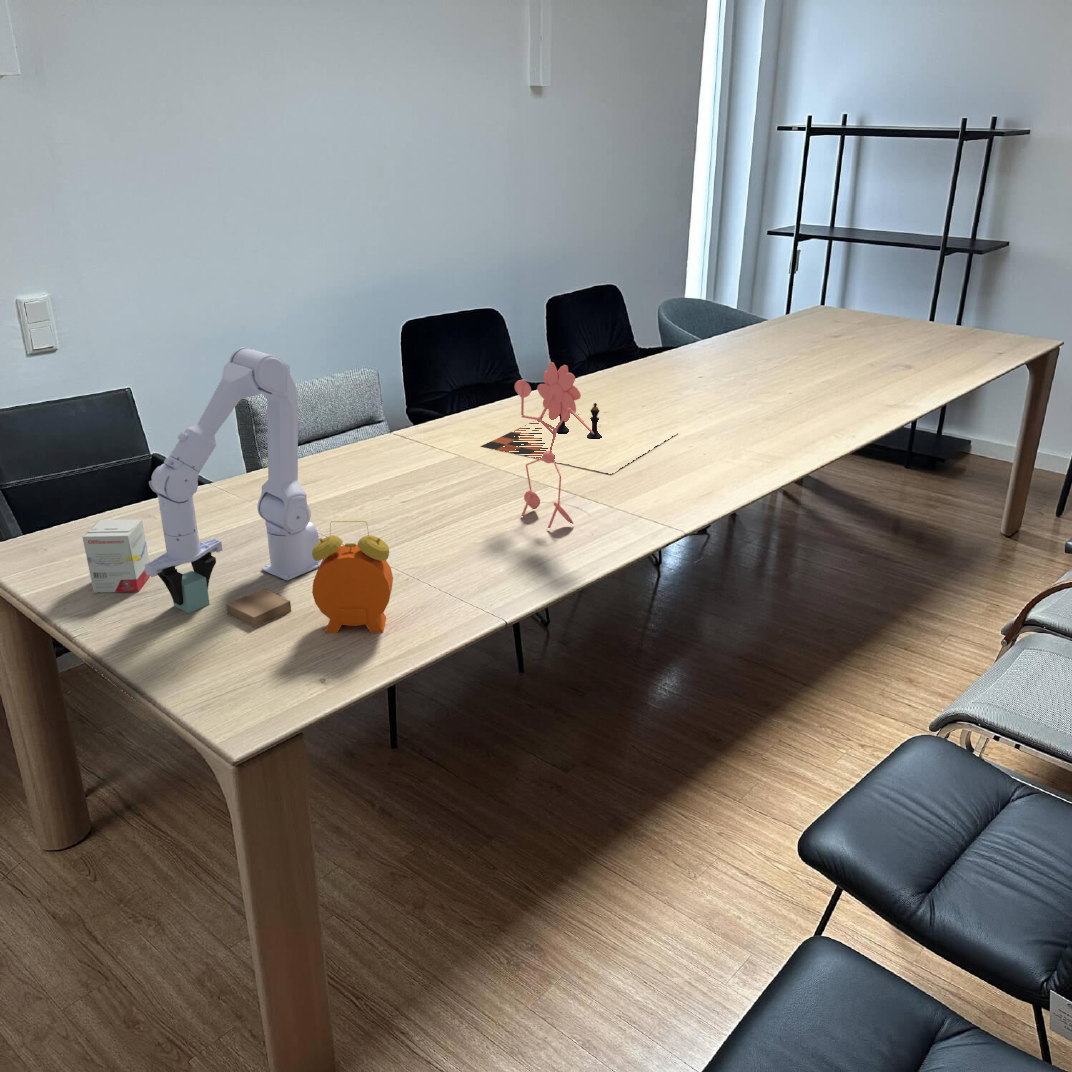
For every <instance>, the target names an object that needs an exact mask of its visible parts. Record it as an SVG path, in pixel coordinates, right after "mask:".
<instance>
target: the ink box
mask: <svg viewBox="0 0 1072 1072" xmlns="http://www.w3.org/2000/svg"><path fill="white" fill-rule="evenodd" d="M82 543H83V545H84V546H83V547H84V551H85V556H86V561H87V565H88V571H89V575H90V580H91V586H92V590H93V593H95V594H97V592H100V593H129V592H131V593H132V592H134V593H135V592H137V593H139V592H140V591H141V590H142V588H143V587H144V585H145V584H146V583H147V581H148V580H149V579H150V577H151V576H148V575H147V574H146V571H145V564H147V563H149V562H150V557H149V552H148V545H147V540H146V534H145V528H144V523H143V519H99V520H98V521H96V522H95V523H94V524H92V526H91V527H90V529H89V530H87V531H86V532H85V533H84V534H83V535H82ZM147 579H148V580H147Z"/></svg>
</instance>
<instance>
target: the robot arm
mask: <svg viewBox="0 0 1072 1072" xmlns="http://www.w3.org/2000/svg"><path fill="white" fill-rule="evenodd" d="M260 395H262V396H263V397H264V398H266V400H267V463H268V464H267V469H268V470H267V474H268V475H267V477H268V479H267V480H266V481H265V482H264V483H263V484H262V485H261V494H260V497H259V499H258V503H257V506H256V507H257V513H258V515H259V516H260V518H261V519H262V520H264V522H265V527H266V534H267V536H266V537H267V543H268V552H269V553H268V554H269V561H270V562H269V564H266V565H264V566H262V567H261V570H262V571H263V572H266V573H268V574H270V575H273V576H274V577H277V578H280V579H282V580H283V581H290V580H292V579H294V578H297V577H299V576H301V575H303V574H306V573H308V572H311V571H313V570H315V569H317V568H319V566H320V564H321V562H322V560H319V561H315V560H314V558H313V556H312V550H313V548H314V547H315V545H316V544H317V543H318V542H319V541H320V540H319V539H320V537H319V536H320V535H319V532H318V529H317V528H316V526H315V525H314V523H312V521H310V520H311V517H312V515H311V513H312V512H311V509H310V506H309V504H308V501H307V500H308V499H307V493H306V491H305V490H304V487H302V485H301V483H300V482H299V466H298V465H299V460H298V459H299V448H298V447H299V446H298V445H299V444H298V443H299V438H298V436H299V435H298V434H299V433H298V431H299V420H298V419H299V418H298V417H299V416H298V415H299V412H298V411H299V406H298V405H299V403H298V400H299V392H298V387H297V385H296V382H295V381H294V379H293V376H292V375H291V367H290V364H288V363H287V362H286V361H284V359H282V358H281V357H279V356H278V355H276V354H269V353H267V352H266V353H265V352H262V351H259V350H256V349H254V348H252V347H249V346H243V347H239V348H237V349H235V351H233V353H232V354H231V356H230V357H229V361H227V363H225V365H224V366H223V371H222V376H221V379H220V382H219V383H218V385H217V387H216V389H215V391H214V393H213V394H212V396H211V399H210V400H209V402H208V404H207V405H206V407H205V409H204V410H203V411H204V412H203V413H202V415H201V417H200V418H199V420H198V422H197V424H195V425H192V426H189V427H186V429H185V430H184V432H180V433H179V434H178V436H177V439H178V441H177V443H176V444H175V446H174V448H173V450H172V451H171V452H170V453H169V456H168V457H165V459H164V461H163V463H162V464H161V465H159V466H157V467H156V468H155V469H154V470H153V472H152V475H151V476H150V477H151V480H149V481H148V485H149V488H150V489H151V490H152V492H154V493H156V495H157V499H158V504H159V505H158V506H159V511H160V512H159V513H160V519H161V520H160V521H161V525H162V533H163V538H164V543H165V544H164V545H165V551H166V552H165V553H163V554H161V555H160V556H159V557H156V558H155V559H154V560H151V561H149V563H147V564H145V571H146V574H147V575H148V576H150V577H151V578H154V577H156V576H158V577H159V578H160V580H161V581H162V582H163V583H164V585H165V587H166V589H167V590H168V592H169V594H170V596H171V598H172V602H173V601H174V603H176V604H178V605H182V604H183V594H182V576H183V574H184V573H181V572H179V571H178V569H177V568H176V567H178V566H181V565H184V564H188V563H191V567H192V571H193V572H196V573H198V574H200V575H202V576H204V577H206V582H207V589H208V590H209V585H210V578H211V575H212V574H213V573H212V572H213V570H214V567H215V566H216V564H217V559H216V557H215V556H213V555H212V554H213V553H215V552H216V553H220V552H222V551H223V544H222V543H223V542H222V541H221V540H219V539H217V538H212V539H208V540H206V541H201V542H200V537H199V532H198V525H197V518H196V517H197V516H196V510H195V504H194V503H195V502H194V497H193V496H194V494H195V493H196V492H197V490H198V488H199V481H198V479H199V477H200V475H199V474H200V472H201V471H202V469H203V467H204V466H205V465H206V463H207V461H208V460H209V458H210V456H211V455H212V453H213V452H214V450H215V449H216V447H217V441H216V434H217V433H218V432H219V430H220V428H221V427H222V426H223V425H224V423H225V422H226V420H227V419H228V418H229V416H230V415H231V413H232V412H233V410H234V409H235V408H236V406H237V405H238V404H239V402H240V401H241V400H243V399H247V398H251V397H255V396H260ZM174 603H173V604H174Z"/></svg>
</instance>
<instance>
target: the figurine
mask: <svg viewBox="0 0 1072 1072" xmlns="http://www.w3.org/2000/svg"><path fill="white" fill-rule="evenodd" d="M557 369H558V368H557V366H556V365H555V363H554V362H552V361H551V362H550V363H549V364H548V367H547V370H545V371H544V372H543V382H544V383H540V384H538V385H537V387H536V389H537V392H538V394H539V396H540V397H541V398H542V399H543V401H542V406H543V410H542V412H541V414H540V415H539V417H538V416H537V417H535V416H529V415H525V414H524V413H525V412H524V408H525V407H524V405H525V401H524V400H525V398H527V397H529V396H530V395H531V393H532V388H531V386H530V384H529V383H528V382H527V381H525V379H524V378H523V379H520V380H517V381H516V382H515V383H514V390H515V392H516V393H517V394H518V396H519V397H520V399H521V407H520V411H521V412H520V415H521V418H523V419H529V420H534V421H536V420H537V421H538V422H541V423H542V424H543V425H544V426H545V427H546V428H547V429H548V430H549V431H550V432H551V433H552V434H553V439H552V443H551V447H550V451H546V452H544V454H543V456H542V458H541V459H535V460H533V461H531V462H528V463H526V464H525V468H526V469H525V470H526V474H527V475H526V476H527V480H528V481H527V482H528V487H529V490H527V491H525V493H524V495H523V500H524V502H525V505H524V508H523V511H522V513H521V515H520V517H521V516H524V517H525V514H526V512H527V509H528V506H529V507H530V508H531V509H532V510H533V509H535V510H536V509H537V508H538V507H540V505H541V502H540V501H541V499H540V497H539V496H538V494H537V493H536V492H534V491H533V490H532V486H531V485H532V484H531V481H530V480H531V479H530V472H529V467H528V466H529V465H532V464H534V463H537V462H540V461H543V462H544V463H546V464H552V463H553V462H554V463H553V464H554V467H555V469H556V472H557V474H558V476H559V478H558V479H559V482H558V498H557V502H558V503H556V501H553V506H554V507H555V508H554V511H553V513H552V516H551V518H550V521H549V524H548V526H547V528H550V529H551V527H552V525H553V522H554V520H555V516H556V514H557V512H558V513H559V514H560V515H561V516H562V517H563V518H564V520H566V521H567V522H568V523H569V522H570V523H572V524H574V521H573V520H572V518H571V516H570V515H569V514H568V513H567V511H566V510H564V508H563V507H562V506H561V503H560V502H561V487H562V475H561V473H560V471H559V467H558V464H557V463H555V460H554V459H555V455H554V454H553V453H552V451H551V450H552V446H553V443H554V440H555V437H556V433H557V429H558V428H559V426H560V425H561V423H562V422H563V421H565V422H567V421H568V420H569V418H570V413H571V414H573V415H574V416H575V417H576V418H577V419H578V420H579V421H580V422H581V423H582V424H583V425H584V426H585V427H586V428H587V429H588V430H589V431H590V432H591V433H592V434H594V432H593V431H592V430H591V429H590V428H589V427H588V426H587V425H586V424H585V423H584V421H583V420H582V419H581V418H580V417H579V416H578V415H579V414H578V415H577V413H576V412H577V405H576V402H575V401H578V400H580V399H581V395H582V394H581V392H580V390H579V388H578V387H577V386H575V385H574V384H575V382H576V376H575V375H574V374H573V373H572V372H569V366H568V365H566V364H563V365H562V366H560V367H559V369H558V370H557ZM547 411H548V415H549V418H550V419H551V420H554V419H556V418H557V417H558V416H559V414H561V417H562V419H561V420H560V422H559V423H558V425H557V426H556V428H554V427H552V426H551V425H549V424H547V423H545V422H544V421H542V418H543V417H544V416H545V414H546V412H547ZM549 427H550V428H551V429H553V431H552V430H551V429H550V428H549ZM570 523H569V524H570Z"/></svg>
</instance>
